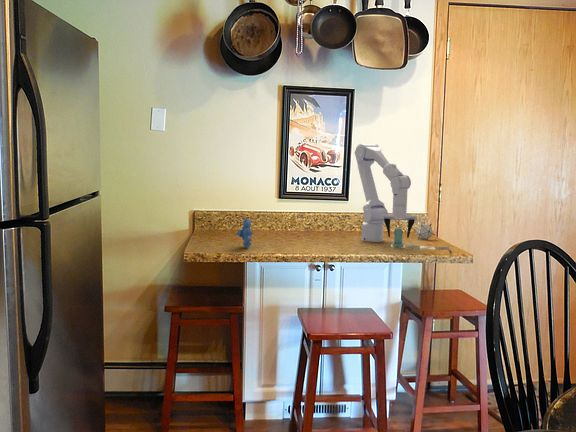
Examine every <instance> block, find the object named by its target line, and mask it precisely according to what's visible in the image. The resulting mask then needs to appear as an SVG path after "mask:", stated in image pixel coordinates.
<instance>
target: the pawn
mask: <svg viewBox="0 0 576 432" xmlns="http://www.w3.org/2000/svg"><path fill="white" fill-rule="evenodd" d="M393 232H394V235H393V236H394V237H393V238H394V239H393V240H394V242H392V246H394V247H393V248H401V247H403V246H404V245H405V244H404V243H403V233H404V230H403V229H402V228H401V227H397V228H395V229H394V231H393Z"/></svg>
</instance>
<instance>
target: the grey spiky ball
mask: <svg viewBox="0 0 576 432" xmlns="http://www.w3.org/2000/svg"><path fill="white" fill-rule="evenodd" d="M413 231H415V233H416V236H417V240H424V241H425V240H429V239H430V238H431V237H432V236H435V235H436V234H435V233H434V232H433V228H432V223H430V224H425V223H423V222H420V225H419V226H417V228H413Z"/></svg>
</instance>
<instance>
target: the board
mask: <svg viewBox="0 0 576 432" xmlns="http://www.w3.org/2000/svg"><path fill="white" fill-rule="evenodd" d="M390 247H391V248H395V247H394V246H392V244H390ZM401 248H403V249H404V248H406V249H423V250H424V249H425V250H442V251H448V252H449V254H452V250H451V248H450V247H449V246H429V245H409V244H404V246H403V247H400V249H401Z"/></svg>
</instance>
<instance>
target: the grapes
mask: <svg viewBox="0 0 576 432" xmlns="http://www.w3.org/2000/svg"><path fill="white" fill-rule="evenodd" d="M242 222H243V223H242V225H243V226H242V228H241V229H238V230H237V232H236V235H237V236H238V237H239V238H241V239H242V240H243V243H242V245H243V247H244V248H246V249H249V248H250V246H251V245H252V243H251V241H252V238H251V237H252V235H253V234H254V232H253V231H252V230H251V226H252V221H251V220H250V218H248V217H247V218H245V219H244V220H243V221H242Z"/></svg>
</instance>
